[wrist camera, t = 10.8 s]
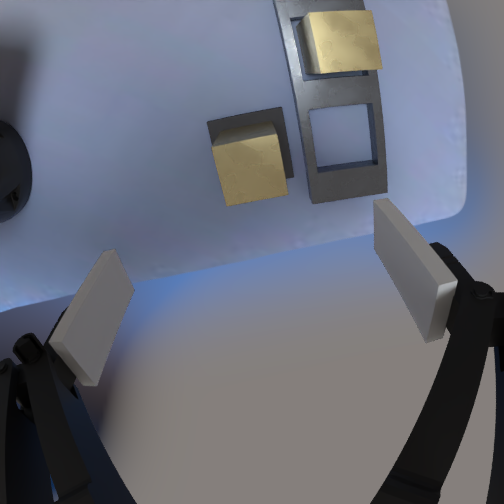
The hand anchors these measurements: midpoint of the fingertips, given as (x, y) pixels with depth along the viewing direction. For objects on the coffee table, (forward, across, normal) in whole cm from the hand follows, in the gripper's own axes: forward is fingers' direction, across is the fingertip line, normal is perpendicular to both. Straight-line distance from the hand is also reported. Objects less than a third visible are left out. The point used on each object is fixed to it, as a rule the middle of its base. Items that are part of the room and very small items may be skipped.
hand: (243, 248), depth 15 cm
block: (+22, +10, +10) cm, 26 cm away
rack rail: (+21, +10, +5) cm, 24 cm away
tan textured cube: (+21, 0, 0) cm, 21 cm away
